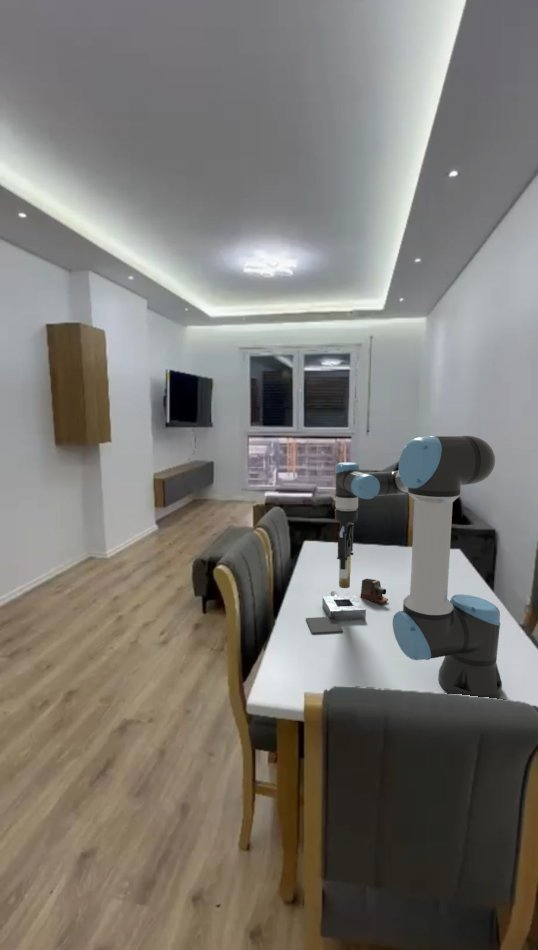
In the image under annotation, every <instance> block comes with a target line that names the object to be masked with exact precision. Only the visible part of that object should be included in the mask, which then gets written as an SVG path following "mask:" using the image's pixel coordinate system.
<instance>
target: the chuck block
mask: <svg viewBox="0 0 538 950" xmlns="http://www.w3.org/2000/svg"><path fill="white" fill-rule="evenodd" d="M321 606H322V608H323V609H324V611H325V613H326V615H327V617H330V619H337V621H338V622H341V621H360V620H361V621H362V620H366V617H367V616H366V613H367V612H366V611H367V609H366V608H365V606H364V605H363V603H362V602H361V601H360V600H359V598H358V596H357V595H355V594H348V595H338V594H337V592H336V591H335V590H332V591H331V592H330V595H329V596H328V595H327V596H322V605H321Z"/></svg>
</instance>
